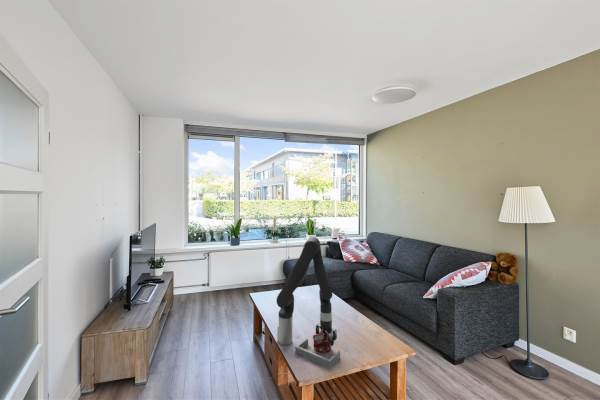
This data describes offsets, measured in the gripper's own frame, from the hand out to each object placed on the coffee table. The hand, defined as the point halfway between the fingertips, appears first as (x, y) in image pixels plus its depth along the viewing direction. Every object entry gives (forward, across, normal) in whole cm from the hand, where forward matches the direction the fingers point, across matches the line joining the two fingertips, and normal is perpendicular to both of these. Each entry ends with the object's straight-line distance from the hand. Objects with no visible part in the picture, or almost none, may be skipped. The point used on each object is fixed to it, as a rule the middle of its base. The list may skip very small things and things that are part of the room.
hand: (326, 343), depth 175 cm
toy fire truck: (+3, -1, -3) cm, 5 cm away
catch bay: (+3, 0, -9) cm, 10 cm away
